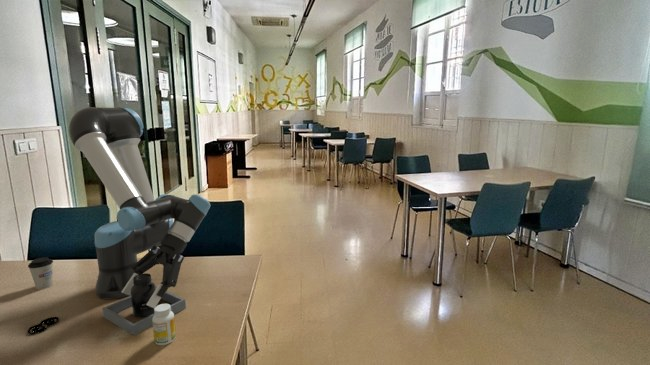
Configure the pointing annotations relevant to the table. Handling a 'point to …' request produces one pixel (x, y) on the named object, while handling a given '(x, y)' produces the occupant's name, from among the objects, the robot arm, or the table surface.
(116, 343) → the table surface
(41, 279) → the coffee cup
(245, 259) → the table surface
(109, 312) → the square frame
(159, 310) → the supplement bottle
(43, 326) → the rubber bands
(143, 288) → the supplement bottle
